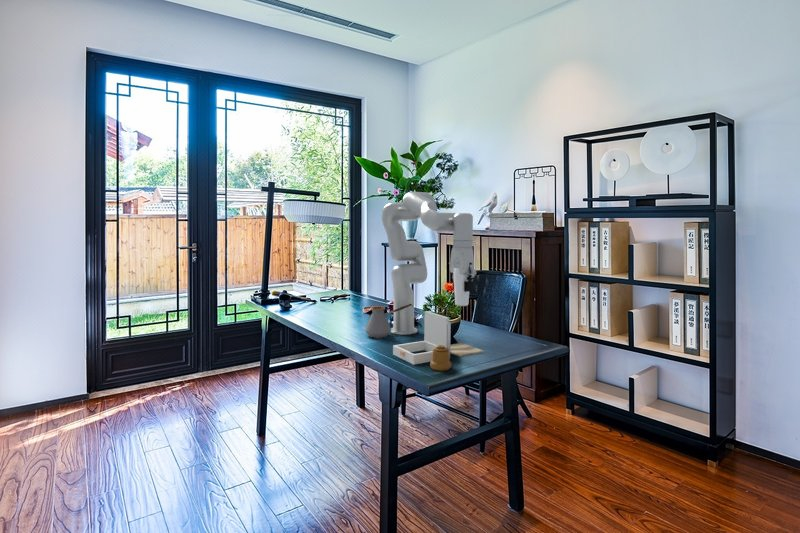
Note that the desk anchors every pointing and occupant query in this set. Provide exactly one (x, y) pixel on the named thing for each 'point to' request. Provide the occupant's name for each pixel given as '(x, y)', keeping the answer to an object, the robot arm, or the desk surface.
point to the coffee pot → (380, 322)
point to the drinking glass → (460, 289)
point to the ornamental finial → (440, 359)
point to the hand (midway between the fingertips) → (462, 289)
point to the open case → (426, 340)
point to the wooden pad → (464, 349)
